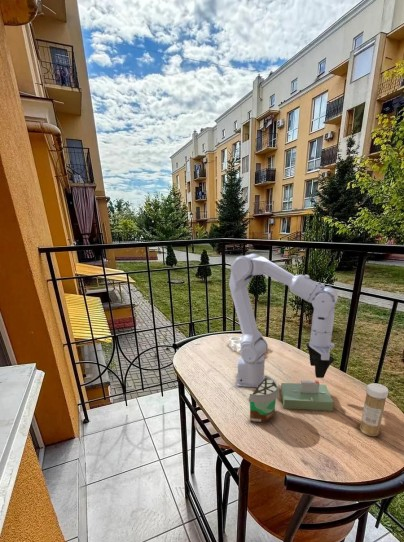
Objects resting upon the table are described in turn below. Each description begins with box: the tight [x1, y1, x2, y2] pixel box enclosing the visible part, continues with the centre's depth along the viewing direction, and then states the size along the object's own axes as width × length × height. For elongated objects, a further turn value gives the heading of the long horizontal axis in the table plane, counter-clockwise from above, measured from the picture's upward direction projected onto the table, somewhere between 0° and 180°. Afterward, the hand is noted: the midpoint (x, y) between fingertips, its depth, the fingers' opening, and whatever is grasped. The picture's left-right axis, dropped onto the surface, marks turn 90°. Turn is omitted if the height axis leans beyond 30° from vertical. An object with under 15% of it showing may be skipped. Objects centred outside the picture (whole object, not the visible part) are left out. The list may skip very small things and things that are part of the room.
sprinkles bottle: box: [359, 382, 389, 437], centre depth 72 cm, size 5×5×14 cm
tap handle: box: [300, 380, 321, 394], centre depth 87 cm, size 5×1×4 cm, turn 81°
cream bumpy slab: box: [228, 336, 242, 355], centre depth 127 cm, size 3×18×15 cm
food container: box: [248, 375, 280, 425], centre depth 80 cm, size 12×6×10 cm, turn 148°
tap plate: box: [280, 382, 335, 412], centre depth 88 cm, size 14×10×3 cm
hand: (316, 371), depth 86 cm, fingers open, 7 cm apart
